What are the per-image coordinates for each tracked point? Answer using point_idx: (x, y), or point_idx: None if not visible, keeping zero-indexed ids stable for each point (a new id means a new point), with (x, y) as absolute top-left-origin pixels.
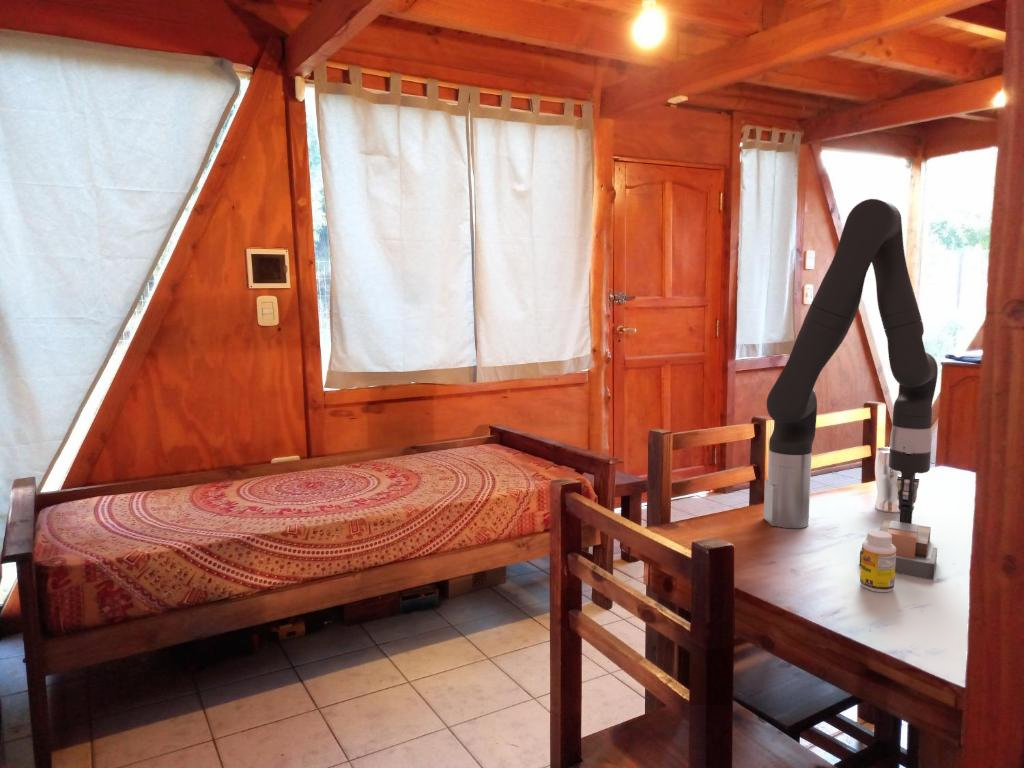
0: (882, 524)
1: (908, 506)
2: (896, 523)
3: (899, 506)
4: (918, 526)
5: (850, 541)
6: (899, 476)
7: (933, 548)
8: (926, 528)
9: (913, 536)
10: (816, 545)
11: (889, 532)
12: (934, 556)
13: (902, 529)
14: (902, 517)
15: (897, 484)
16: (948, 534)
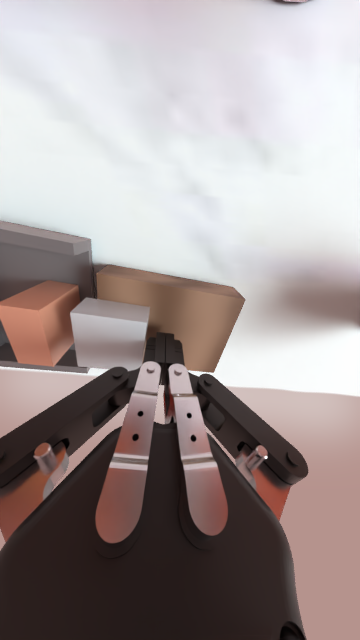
0: (206, 293)
1: (108, 401)
2: (124, 332)
3: (94, 380)
4: (211, 357)
5: (144, 199)
6: (199, 534)
7: (80, 368)
8: (202, 366)
9: (22, 360)
10: (32, 37)
11: (6, 311)
12: (29, 367)
13: (75, 342)
14: (144, 354)
15: (106, 482)
16: (244, 375)
